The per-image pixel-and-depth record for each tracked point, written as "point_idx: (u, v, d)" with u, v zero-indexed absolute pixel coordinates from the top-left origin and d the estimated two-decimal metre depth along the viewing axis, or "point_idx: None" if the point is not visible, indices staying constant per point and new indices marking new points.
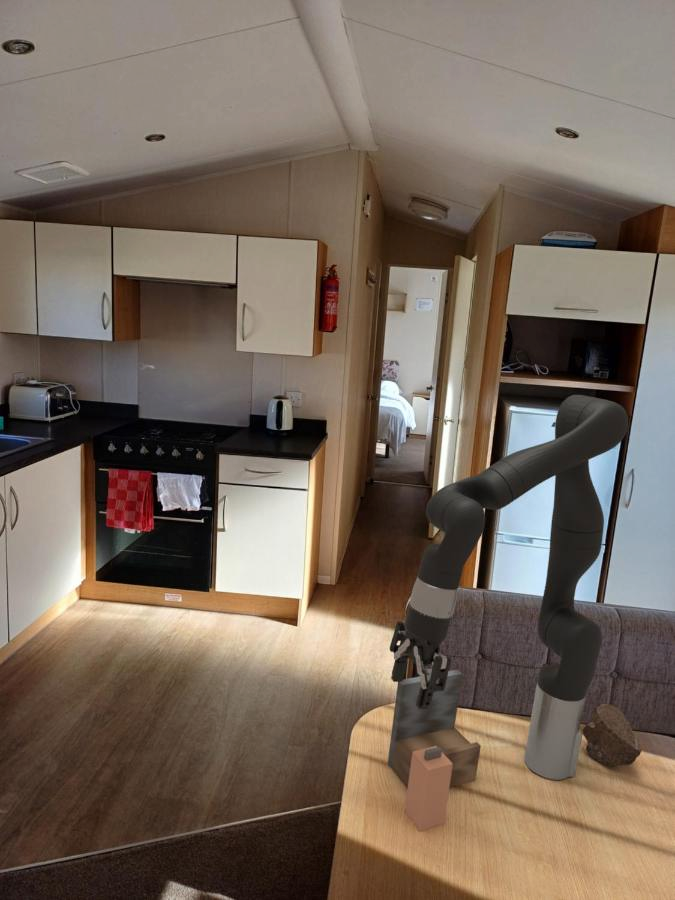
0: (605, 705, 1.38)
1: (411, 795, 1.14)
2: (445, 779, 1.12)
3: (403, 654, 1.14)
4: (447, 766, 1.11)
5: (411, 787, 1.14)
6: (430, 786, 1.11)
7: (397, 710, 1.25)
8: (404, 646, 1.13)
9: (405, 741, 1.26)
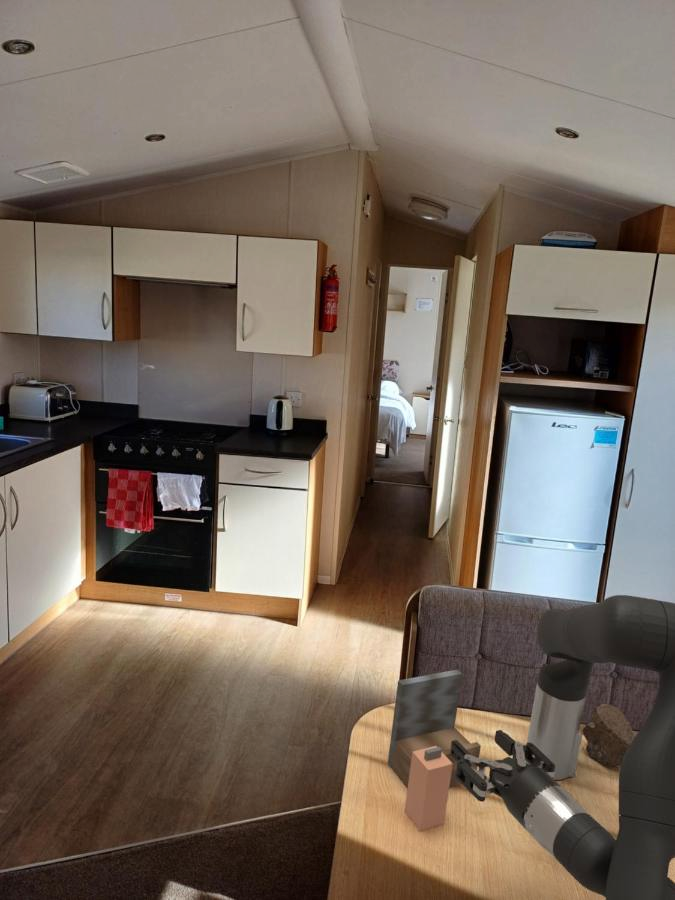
0: (605, 705, 1.38)
1: (411, 795, 1.14)
2: (445, 779, 1.12)
3: None
4: (447, 766, 1.11)
5: (411, 787, 1.14)
6: (430, 786, 1.11)
7: (397, 710, 1.25)
8: None
9: (405, 741, 1.26)
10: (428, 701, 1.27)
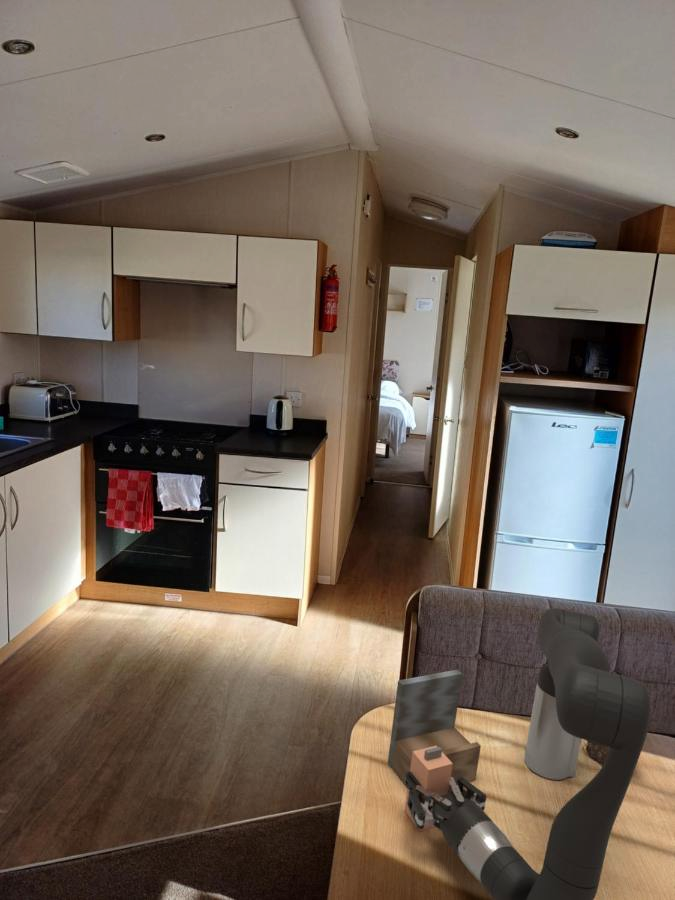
0: None
1: None
2: (445, 779, 1.12)
3: None
4: (447, 766, 1.11)
5: None
6: (430, 786, 1.11)
7: (397, 710, 1.25)
8: None
9: (405, 741, 1.26)
10: (428, 701, 1.27)
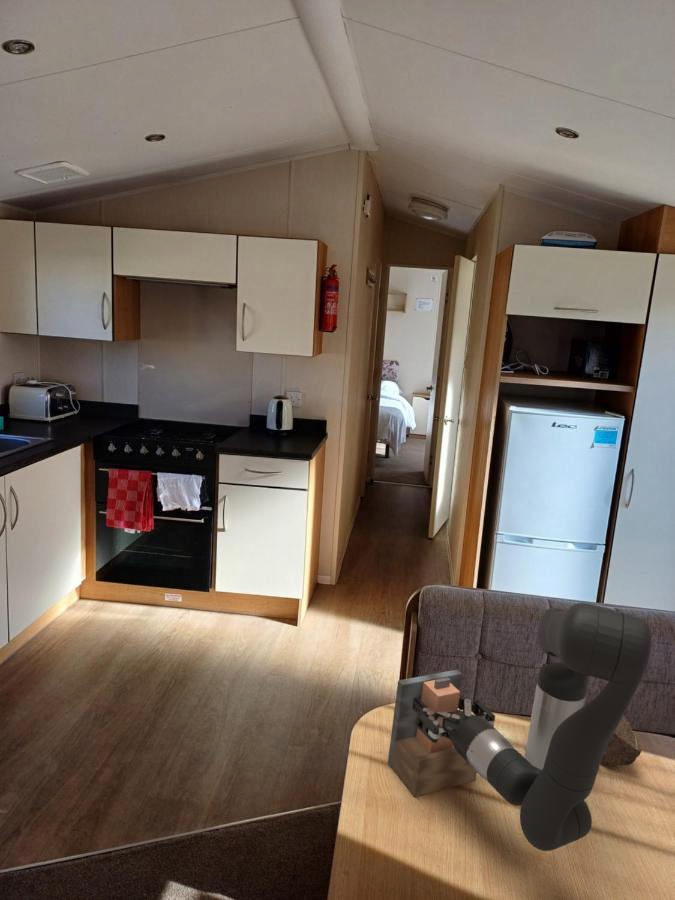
0: None
1: None
2: (454, 706, 1.23)
3: None
4: (455, 694, 1.23)
5: None
6: None
7: (397, 710, 1.25)
8: None
9: (405, 741, 1.26)
10: None
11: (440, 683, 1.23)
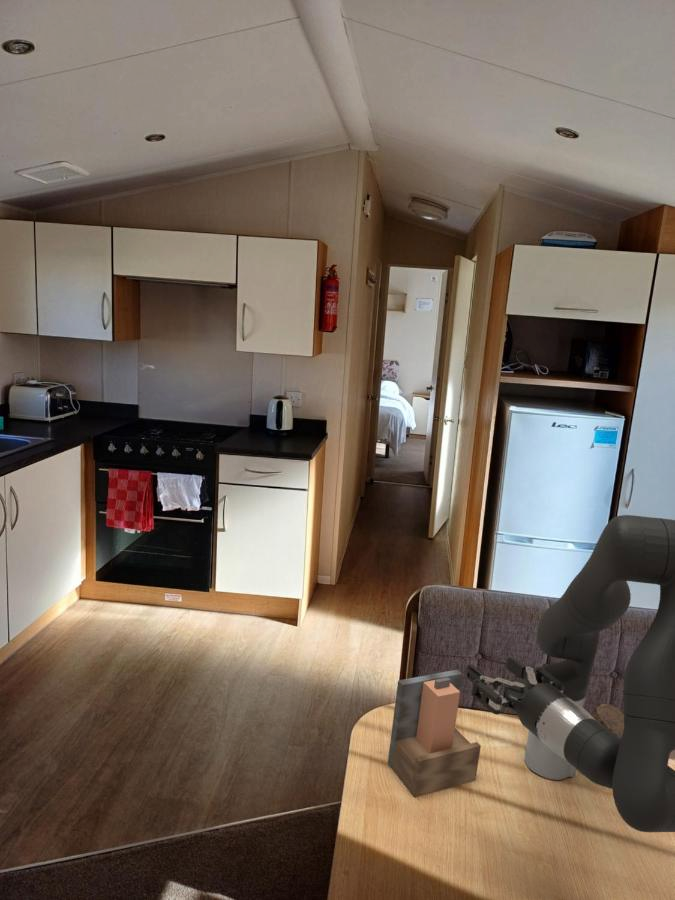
0: (605, 705, 1.38)
1: (422, 721, 1.25)
2: (454, 706, 1.23)
3: None
4: (455, 694, 1.23)
5: (422, 715, 1.25)
6: (440, 711, 1.22)
7: (397, 710, 1.25)
8: None
9: (405, 741, 1.26)
10: None
11: (440, 683, 1.23)
